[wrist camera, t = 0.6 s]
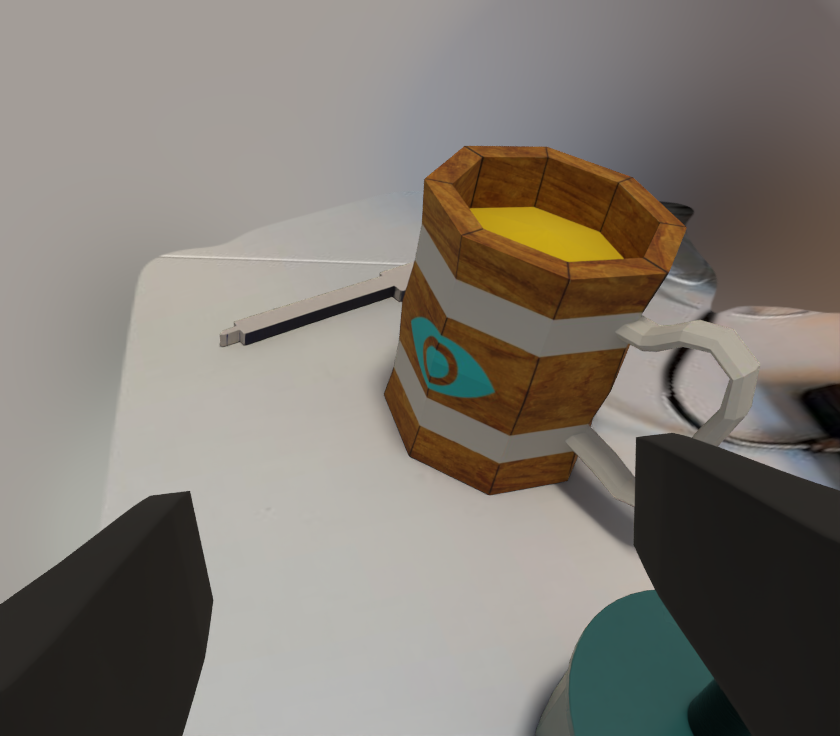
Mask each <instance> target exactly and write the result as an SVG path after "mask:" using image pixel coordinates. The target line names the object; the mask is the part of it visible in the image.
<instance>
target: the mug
mask: <svg viewBox="0 0 840 736" xmlns="http://www.w3.org/2000/svg"><path fill="white" fill-rule="evenodd" d="M685 231H686V226H684V225H683V224H682V223H681V222H680V221H679V220H678V219H677V218H676V217H675V216H674V215H673V214H672V213H671V212H669V211H668V210H667V209H666V208H665V207H664V206H663V205H662V204H661V203H660V202H659V201H658V200H656V199H655V198H654V197H653V196H652V195H651V194H650V193H649V192H648V191H647V190H646V189H645V188H644V187H643V186H642V185H641V184H639V183H638V182H637V181H636V180H635V179H634V178H633V177H630V176H627V175H624V174H621V173H619V172H616V171H613V170H610V169H608V168H605V167H602V166H599V165H596V164H594V163H591V162H588V161H585V160H582V159H580V158H577V157H574V156H571V155H568V154H566V153H563V152H560V151H557V150H554V149H551V148H549V147H517V146H516V147H514V146H510V147H509V146H464V147H463V148H462V149H460V150H459V151H458V152H457V153H456V154H454V155H453V156H452V157H451V158H450V159H448V160H447V161H446V162H445V163H443V164H442V165H441V166H440V167H439V168H437V169H436V170H435V171H434V172H432V173H431V174H430V175H429V176H427V177H426V178H425V179H424V195H423V213H422V226H421V231H420V236H419V241H418V247H417V252H416V257H415V261H414V264H413V268H412V271H411V274H410V277H409V281H408V284H407V287H406V290H405V294H404V297H403V300H402V312H401V324H400V336H399V343H398V348H397V353H396V359H395V364H394V368H393V371H392V373H391V376H390V379H389V382H388V384H387V387H386V390H385V393H384V396H385V398H386V401H387V403H388V406H389V408H390V410H391V413H392V415H393V418H394V420H395V423H396V425H397V428H398V430H399V432H400V435H401V437H402V440H403V442H404V445H405V447H406V449H407V452H408V454H409V456H411V457H413V458H415V459H417V460H419V461H421V462H423V463H425V464H427V465H429V466H431V467H433V468H435V469H437V470H439V471H441V472H443V473H445V474H447V475H449V476H451V477H453V478H455V479H458V480H460V481H462V482H464V483H466V484H468V485H470V486H472V487H474V488H476V489H478V490H480V491H482V492H484V493H486V494H488V495H492V494H498V493H504V492H509V491H515V490H520V489H526V488H531V487H537V486H542V485H548V484H553V483H559V482H564V481H568V479H569V476H570V474H571V471H572V469H573V467H574V464H575V462H576V460H577V457H579V458H580V459H581V460H582V461H583V462H584V463H585V464H586V465H587V466H588V467H589V469H590V470H591V471H592V472H593V473H594V474H595V475H596V476H597V478H598V479H599V480H600V481H601V482H602V484H603V485H604V486H605V487H606V488H607V490H608V491H609V492H610V493H611V494H612V496H613V497H614V498H615V499H617V500H620V501H622V502H624V503H626V504H629V505H631V506H633V507H635V477H634V476H633V475H632V473H631V472H630V471H629V469H628V468H627V467H626V466H625V464H624V463H623V462H622V460H621V459H620V458H619V456H618V455H617V454H616V453H615V452H614V451H613V450H612V449H611V448H610V447H609V446H608V444H607V443H606V442H605V441H604V440H603V439H602V438H601V437H600V436H599V435H598V434H597V433H596V432H595V431H594V430H593V429H592V428H591V423H592V420H593V417H594V416H595V414H596V413H597V411H598V410H599V408H600V407H601V405H602V404H603V402H604V401H605V399H606V398H607V396H608V395H609V393H610V392H611V389H612V387H613V385H614V382H615V380H616V378H617V375H618V373H619V370H620V368H621V366H622V363H623V361H624V358H625V356H626V354H627V351H628V349H629V346H630V345H632V346H634V347H636V348H638V349H639V350H641V351H652V352H658V351H664V350H669V349H674V348H679V347H687V348H692V349H696V350H700V351H705V352H709V353H711V354H712V356H713V357H714V358H715V360H716V361H717V362H718V364H719V365H720V366H721V368H722V369H723V370H724V372H725V373H726V374H727V376H728V377H729V379H730V380H729V383H728V386H727V389H726V392H725V395H724V398H723V401H722V404H721V407H720V409H719V410H718V411H717V412H716V413H715V414H714V415H713V416H712V417H711V418H710V419H709V420H708V421H707V422H706V423H705V424H704V425H703V426H702V427H701V428H700V429H699V430H698V431H697V432H696V433H695V434H694V436H693V437H692V438H694V439H697V440H700V441H703V442H705V443H708V444H711V445H714V446H717V447H718V446H719V445H720V443H721V442H722V441H723V440H724V439H725V438H726V437H727V436H728V435H729V434H730V433H731V431H732V430H733V429H734V428H735V427H736V426H737V425H738V424H739V423H740V422H741V420H742V419H743V418H744V417H745V416H746V415H747V414H748V412H749V410H750V408H751V406H752V401H753V397H754V392H755V387H756V382H757V378H758V373H759V368H760V363H759V362H758V361H757V359H756V358H755V357H754V355H753V354H752V353H751V351H750V350H749V349H748V347H747V346H746V345H745V343H744V342H743V341H742V340H741V338H740V337H739V336H738V334H737V333H736V332H735V330H734V329H731V328H727V327H723V326H720V325H716V324H712V323H709V322H705V321H701V320H697V321H692V322H686V323H681V324H676V325H664V326H660V325H658V324H656V323H654V322H653V321H651V320H649V319H647V318H646V317H644V316H642V313H643V312H644V310H645V308H646V307H647V305H648V304H649V302H650V301H651V299H652V298H653V296H654V295H655V293H656V292H657V290H658V289H659V287H660V286H661V284H662V283H663V281H664V279H665V278H666V276H667V275H668V273H669V271H670V268H671V266H672V263H673V261H674V258H675V256H676V253H677V251H678V248H679V246H680V243H681V241H682V238H683V236H684V233H685Z"/></svg>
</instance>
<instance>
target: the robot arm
mask: <svg viewBox="0 0 840 736" xmlns="http://www.w3.org/2000/svg"><path fill="white" fill-rule="evenodd" d="M634 547H635V549H636V551H637V553H638V555H639V558H640V560H641V562H642V564H643V566H644V568H645V570H646V573H647V575H648V576H649V578H650V580H651V582H652V584H653V586H654V588H655V590H656V592H657V594H658V596H659V598H660V599H661V601H662V602H663V604H664V605H665V607H666V608H667V610H668V611H669V613H670V614H671V616H672V617H673V619H674V620H675V622H676V623H677V625H678V626H679V628H680V629H681V631H682V632H683V634H684V635H685V637H686V638H687V639H688V641H689V642H690V644H691V645H692V647H693V648H694V650H695V651H696V653H697V654H698V655H699V657H700V658H701V660H702V661H703V663H704V664H705V666H706V667H707V669H708V670H709V672H710V673H711V674H712V676H713V677H714V679H715V680H716V682H717V683H718V685H719V686H720V688H721V689H722V690H723V692H724V693H725V695H726V696H727V698H728V699H729V701H730V702H731V704H732V705H733V707H734V708H735V709H736V711H737V712H738V714H739V716H740V717H741V719H742V720H743V722H744V724H745V725H746V727H747V728H748V730H749V732H750V733H751V735H752V736H840V491H839V490H836V489H833V488H830V487H827V486H824V485H821V484H817V483H814V482H812V481H809V480H806V479H803V478H800V477H797V476H794V475H792V474H789V473H786V472H783V471H781V470H778V469H775V468H773V467H770V466H767V465H765V464H762V463H759V462H757V461H754V460H751V459H749V458H746V457H743V456H741V455H738V454H735V453H733V452H730V451H727V450H725V449H722V448H719V447H717V446H714V445H711V444H708V443H705V442H703V441H700V440H697V439H694V438H691V437H687V436H684V435H680V434H675V433H667V434H659V435H651V436H642V437H636V466H635V507H634ZM212 606H213V596H212V592H211V587H210V582H209V578H208V573H207V568H206V564H205V559H204V554H203V550H202V545H201V540H200V536H199V531H198V526H197V522H196V517H195V512H194V508H193V503H192V498H191V494H190V491H186V492H177V493H169V494H161V495H153V496H149V497H148V498H146V499H144V500H142V501H141V502H139V503H138V504H136V505H135V506H134V507H132V508H131V509H129V510H128V511H127V512H125V513H124V514H123V515H121V516H120V517H119V518H117V519H116V520H115V521H113V522H112V523H111V524H110V525H108V526H107V527H106V528H104V529H103V530H102V531H101V532H99V533H98V534H97V535H95V536H94V537H93V538H91V539H90V540H89V541H88V542H86V543H85V544H84V545H82V546H81V547H80V548H78V549H77V550H76V551H74V552H73V553H72V554H70V555H69V556H68V557H66V558H65V559H64V560H62V561H61V562H60V563H59V564H57V565H56V566H54V567H53V568H51V569H50V570H48V571H47V572H46V573H44V574H43V575H41V576H40V577H39V578H37V579H36V580H34V581H33V582H31V583H30V584H29V585H27V586H26V587H25V588H23V589H22V590H20V591H19V592H17V593H16V594H14V595H13V596H12V597H10V598H9V599H7V600H6V601H5V602H3V603H2V604H0V736H182V735H183V732H184V729H185V725H186V722H187V719H188V715H189V712H190V708H191V705H192V702H193V698H194V695H195V691H196V688H197V684H198V681H199V677H200V674H201V670H202V667H203V663H204V659H205V654H206V648H207V642H208V635H209V629H210V621H211V614H212Z"/></svg>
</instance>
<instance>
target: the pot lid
mask: <svg viewBox="0 0 840 736" xmlns="http://www.w3.org/2000/svg"><path fill="white" fill-rule="evenodd" d="M565 702H566V715H567V722H568V727H569V732H570V736H752V735H751V733H750V732H749V730H748V728H747V727H746V725H745V724H744V722H743V720H742V719H741V717H740V716H739V714H738V712H737V711H736V709H735V708H734V707H733V705H732V704H731V702H730V701H729V699H728V698H727V696H726V695H725V693H724V692H723V690H722V689H721V688H720V686H719V685H718V683H717V682H716V680H715V679H714V677H713V676H712V674H711V673H710V672H709V670H708V669H707V667H706V666H705V664H704V663H703V661H702V660H701V658H700V657H699V655H698V654H697V653H696V651H695V650H694V648H693V647H692V645H691V644H690V642H689V641H688V639H687V638H686V637H685V635H684V634H683V632H682V631H681V629H680V628H679V626H678V625H677V623H676V622H675V620H674V619H673V617H672V616H671V614H670V613H669V611H668V610H667V608H666V607H665V605H664V604H663V602H662V601H661V599H660V598H659V596H658V594H657V592H656V590H647V591H642V592H638V593H634V594H630V595H628V596H625V597H623V598H620V599H618V600H616V601H615V602H613V603H611V604H610V605H608V606H606V607H605V608H604V609H603V610H602V611H601V612H599V613H598V614H597V615H596V616H595V617H594V618H593V619H592V621H591V622H590V623H589V624H588V626H587V627H586V628H585V630H584V631H583V633H582V635H581V636H580V638H579V640H578V642H577V644H576V646H575V648H574V651H573V653H572V656H571V659H570V662H569V667H568V672H567V678H566V693H565Z"/></svg>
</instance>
